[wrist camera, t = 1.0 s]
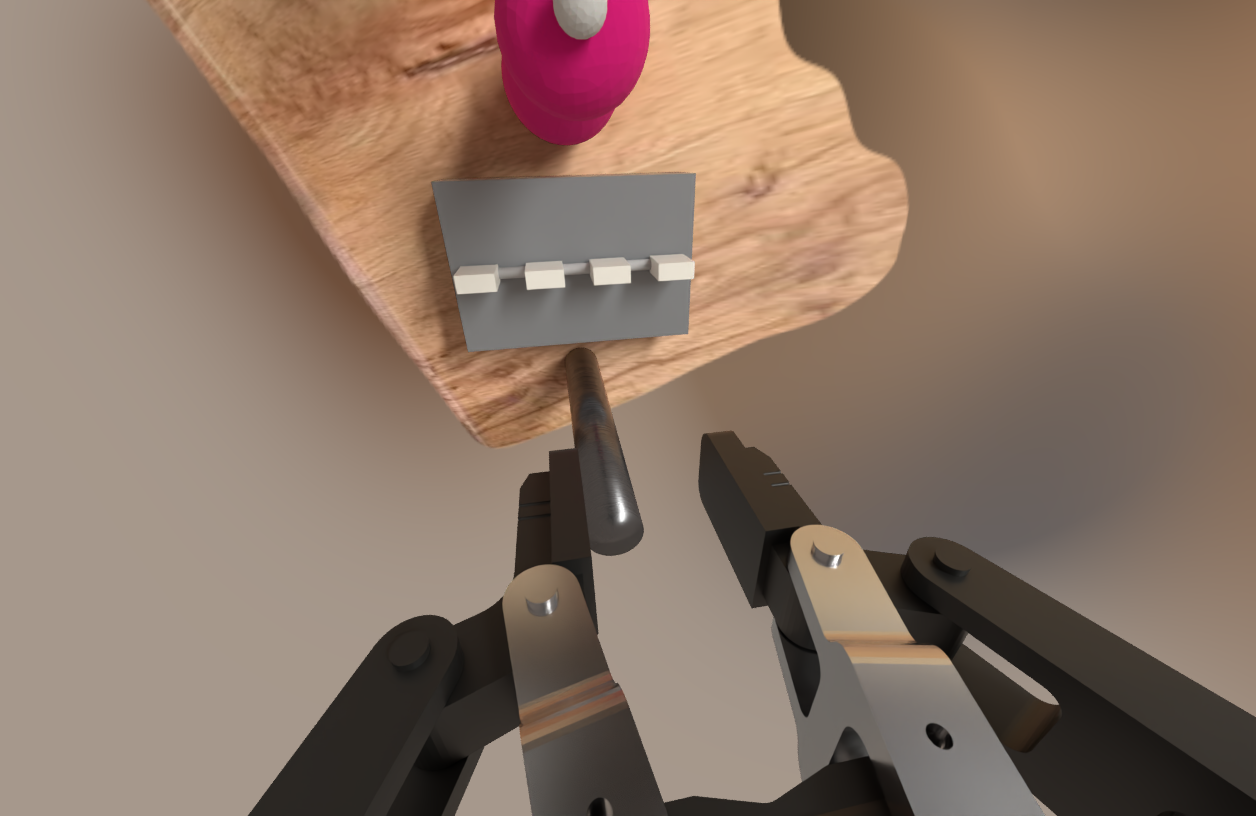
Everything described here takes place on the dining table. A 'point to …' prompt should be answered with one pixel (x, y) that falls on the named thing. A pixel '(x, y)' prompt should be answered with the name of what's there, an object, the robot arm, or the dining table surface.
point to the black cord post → (601, 460)
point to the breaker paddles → (572, 272)
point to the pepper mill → (570, 62)
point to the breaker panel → (568, 254)
